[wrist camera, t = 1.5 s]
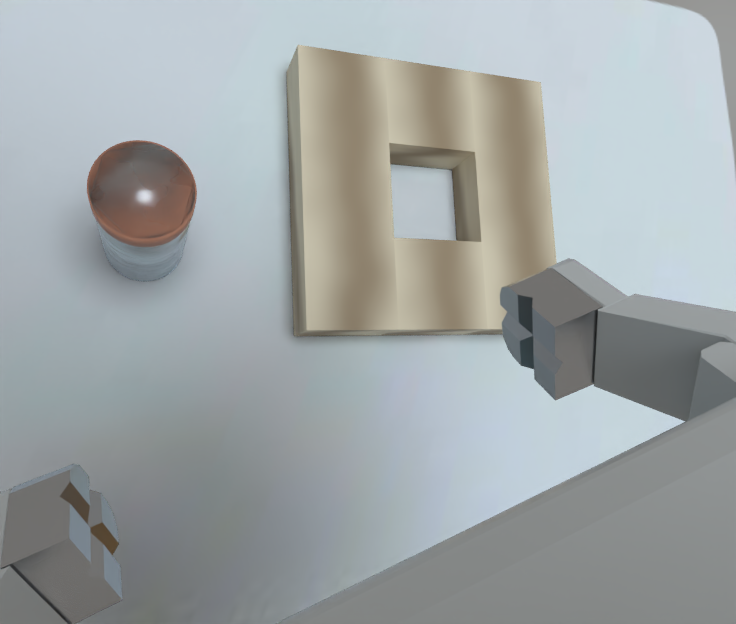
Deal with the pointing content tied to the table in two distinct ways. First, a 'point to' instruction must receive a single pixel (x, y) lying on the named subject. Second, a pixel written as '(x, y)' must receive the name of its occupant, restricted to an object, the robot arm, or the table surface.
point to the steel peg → (142, 207)
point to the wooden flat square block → (374, 194)
